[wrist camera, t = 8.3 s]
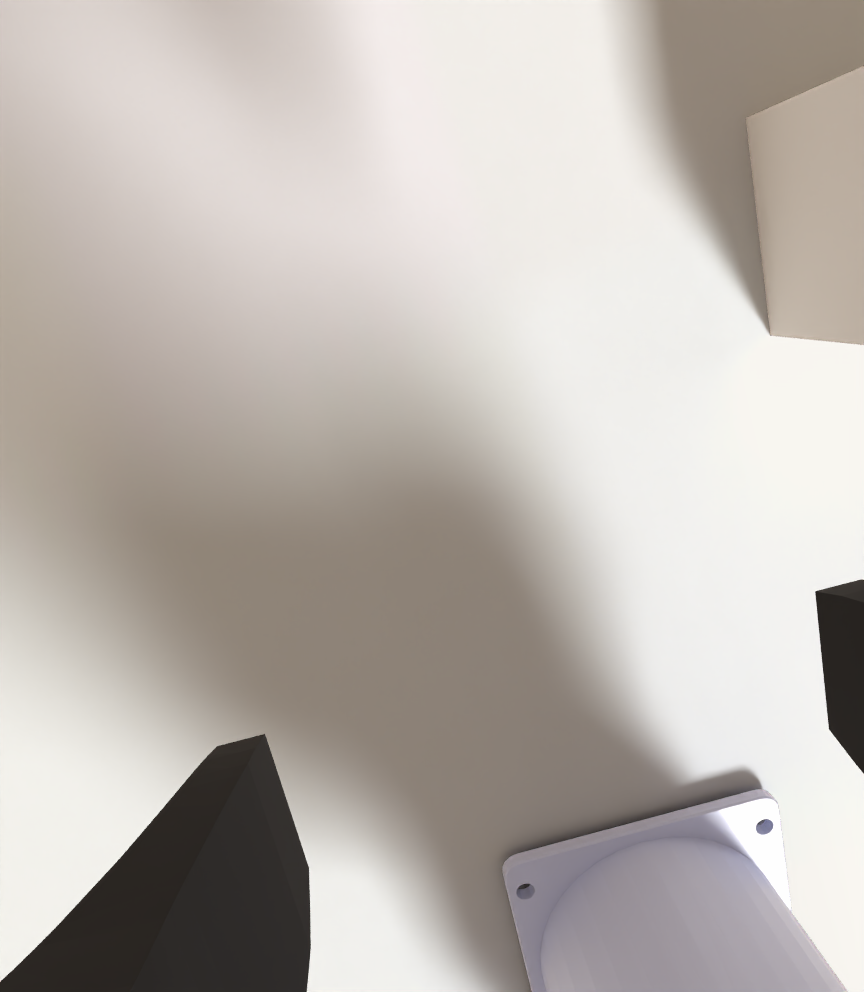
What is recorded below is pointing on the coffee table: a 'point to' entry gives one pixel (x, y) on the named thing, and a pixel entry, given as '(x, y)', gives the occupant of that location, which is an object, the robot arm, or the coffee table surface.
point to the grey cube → (812, 210)
